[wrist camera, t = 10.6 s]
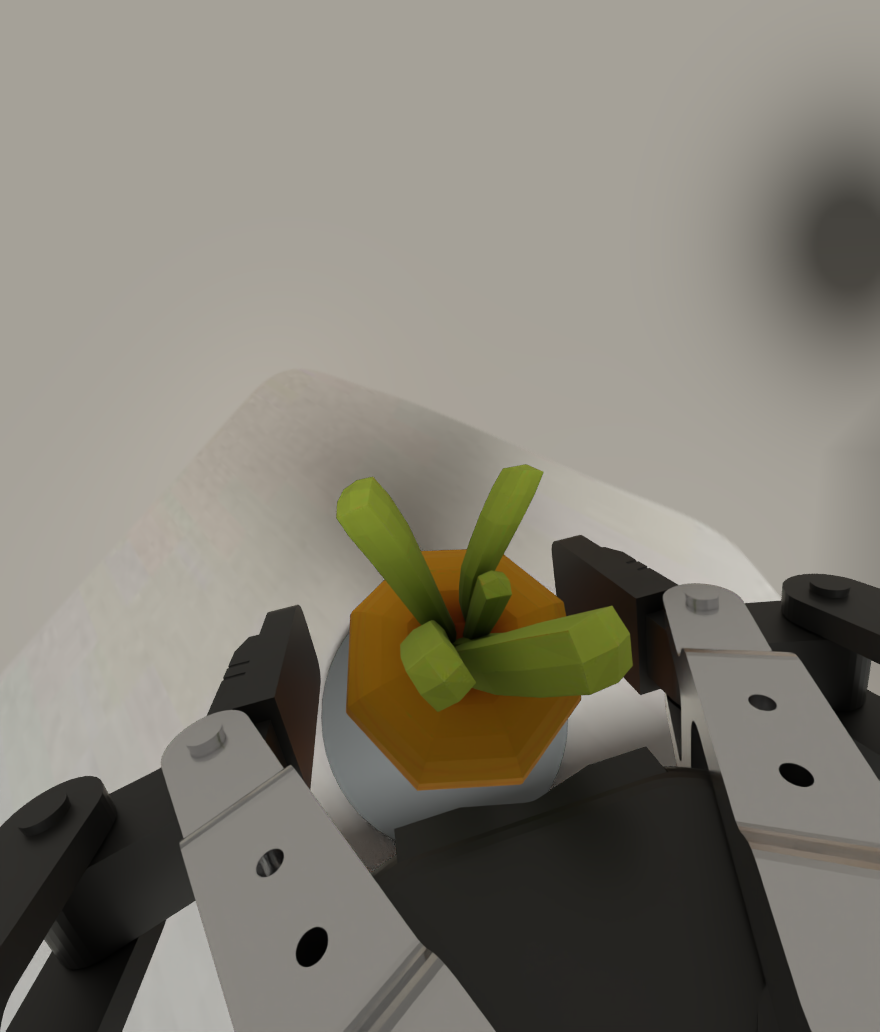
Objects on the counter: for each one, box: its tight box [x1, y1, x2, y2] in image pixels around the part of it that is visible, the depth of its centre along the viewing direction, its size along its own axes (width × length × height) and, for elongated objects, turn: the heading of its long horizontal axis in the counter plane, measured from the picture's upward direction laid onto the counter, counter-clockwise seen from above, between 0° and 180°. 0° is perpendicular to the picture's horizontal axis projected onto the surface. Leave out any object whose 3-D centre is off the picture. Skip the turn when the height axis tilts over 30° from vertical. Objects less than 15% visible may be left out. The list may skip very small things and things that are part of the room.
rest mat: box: [321, 632, 568, 840], centre depth 18 cm, size 10×10×1 cm
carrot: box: [336, 464, 633, 791], centre depth 11 cm, size 5×5×15 cm
